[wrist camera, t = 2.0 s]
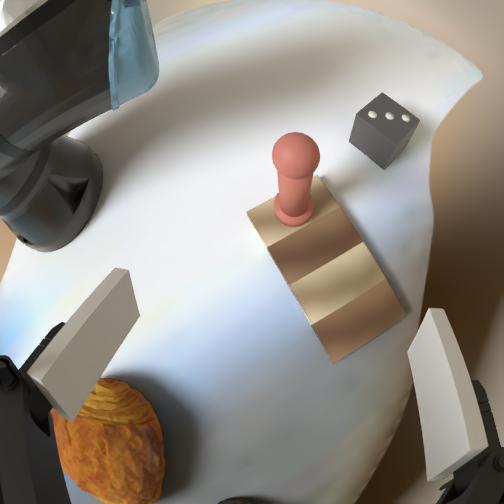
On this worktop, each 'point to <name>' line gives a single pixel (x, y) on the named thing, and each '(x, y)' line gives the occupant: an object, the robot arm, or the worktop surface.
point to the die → (382, 130)
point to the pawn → (295, 177)
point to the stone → (236, 501)
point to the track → (330, 273)
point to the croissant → (113, 445)
